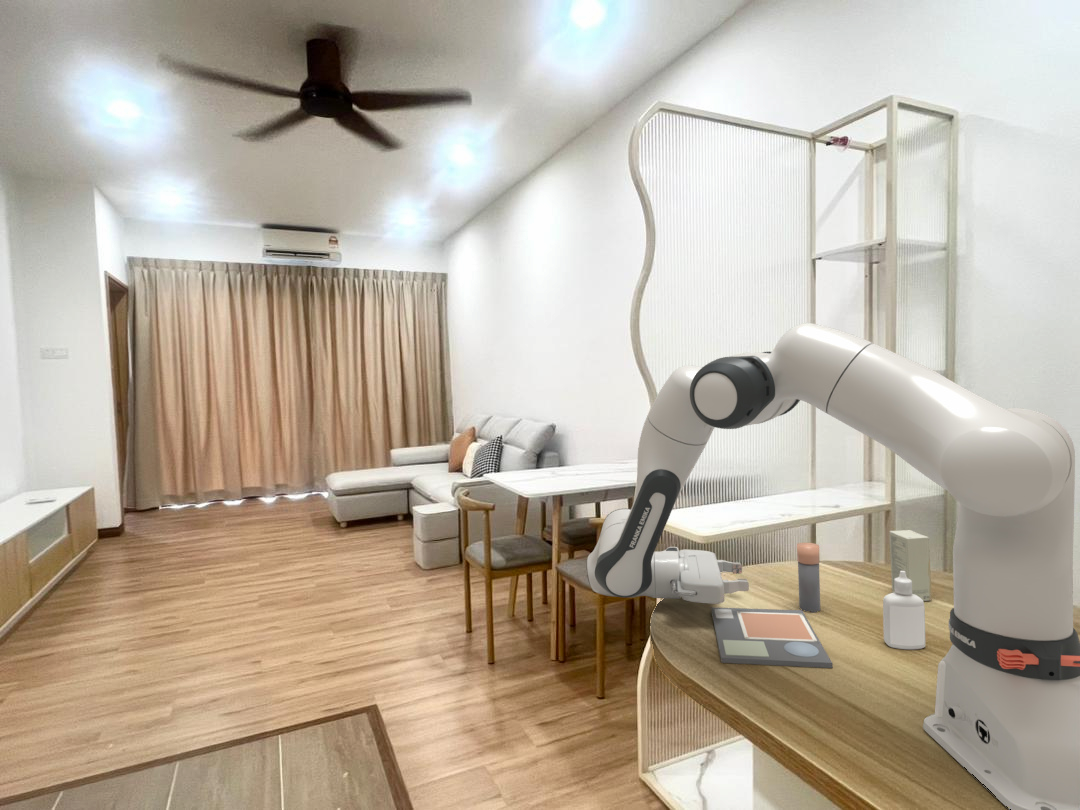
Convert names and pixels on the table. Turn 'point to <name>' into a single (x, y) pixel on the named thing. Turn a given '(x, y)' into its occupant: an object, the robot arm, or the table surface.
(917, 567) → the skincare box
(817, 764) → the table surface
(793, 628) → the picture board
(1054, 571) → the robot arm
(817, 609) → the terracotta marker
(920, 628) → the eye dropper bottle
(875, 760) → the table surface
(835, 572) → the table surface
